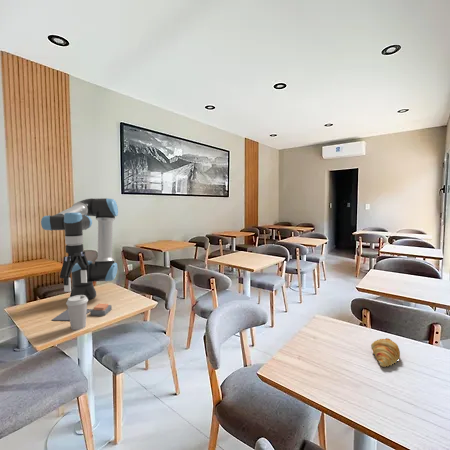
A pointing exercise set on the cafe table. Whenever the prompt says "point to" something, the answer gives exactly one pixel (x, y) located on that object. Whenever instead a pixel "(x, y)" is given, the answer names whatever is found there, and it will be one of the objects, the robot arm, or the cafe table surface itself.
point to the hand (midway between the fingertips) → (76, 286)
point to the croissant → (385, 351)
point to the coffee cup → (77, 311)
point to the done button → (101, 307)
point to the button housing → (101, 311)
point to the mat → (65, 316)
